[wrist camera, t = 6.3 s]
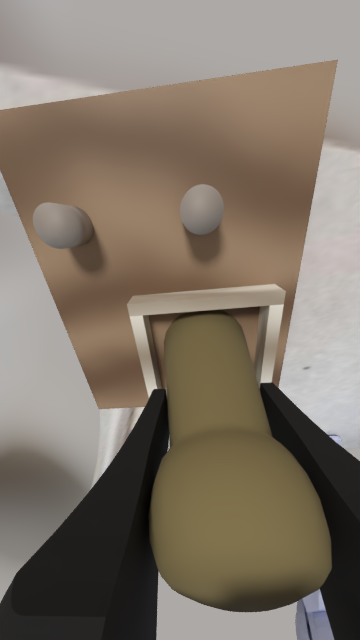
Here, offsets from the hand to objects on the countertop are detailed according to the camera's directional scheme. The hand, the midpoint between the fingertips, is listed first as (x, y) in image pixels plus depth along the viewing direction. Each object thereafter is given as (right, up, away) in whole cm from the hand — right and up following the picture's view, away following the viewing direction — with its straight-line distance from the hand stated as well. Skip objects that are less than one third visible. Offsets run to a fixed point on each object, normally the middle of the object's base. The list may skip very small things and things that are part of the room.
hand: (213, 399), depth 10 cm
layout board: (-2, +6, +4) cm, 7 cm away
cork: (0, +2, +4) cm, 5 cm away
